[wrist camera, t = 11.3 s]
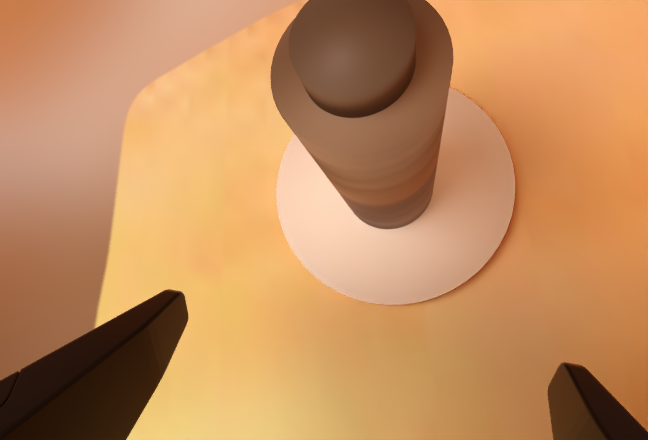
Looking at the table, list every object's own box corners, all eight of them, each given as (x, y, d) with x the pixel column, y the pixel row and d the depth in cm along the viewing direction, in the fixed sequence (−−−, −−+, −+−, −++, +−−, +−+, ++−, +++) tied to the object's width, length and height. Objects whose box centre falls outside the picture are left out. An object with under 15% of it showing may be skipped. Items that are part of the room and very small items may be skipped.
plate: (531, 294, 20) (537, 294, 19) (288, 313, 23) (283, 313, 22) (489, 66, 23) (492, 56, 22) (276, 106, 25) (270, 99, 25)
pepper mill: (449, 205, 21) (499, 65, 8) (367, 244, 22) (297, 169, 9) (408, 130, 22) (398, -89, 10) (331, 169, 23) (226, 10, 10)
